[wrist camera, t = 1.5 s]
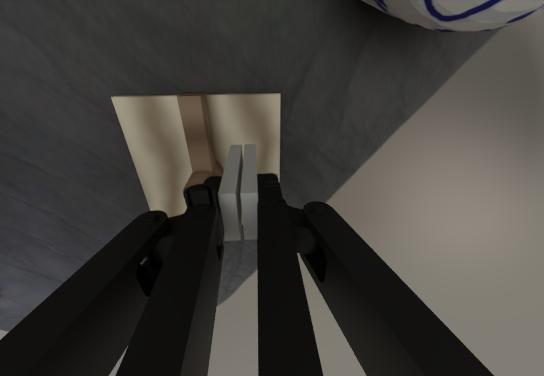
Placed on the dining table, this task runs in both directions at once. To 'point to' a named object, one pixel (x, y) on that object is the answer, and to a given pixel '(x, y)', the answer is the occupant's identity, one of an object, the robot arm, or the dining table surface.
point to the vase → (460, 13)
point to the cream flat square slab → (173, 148)
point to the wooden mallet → (198, 138)
